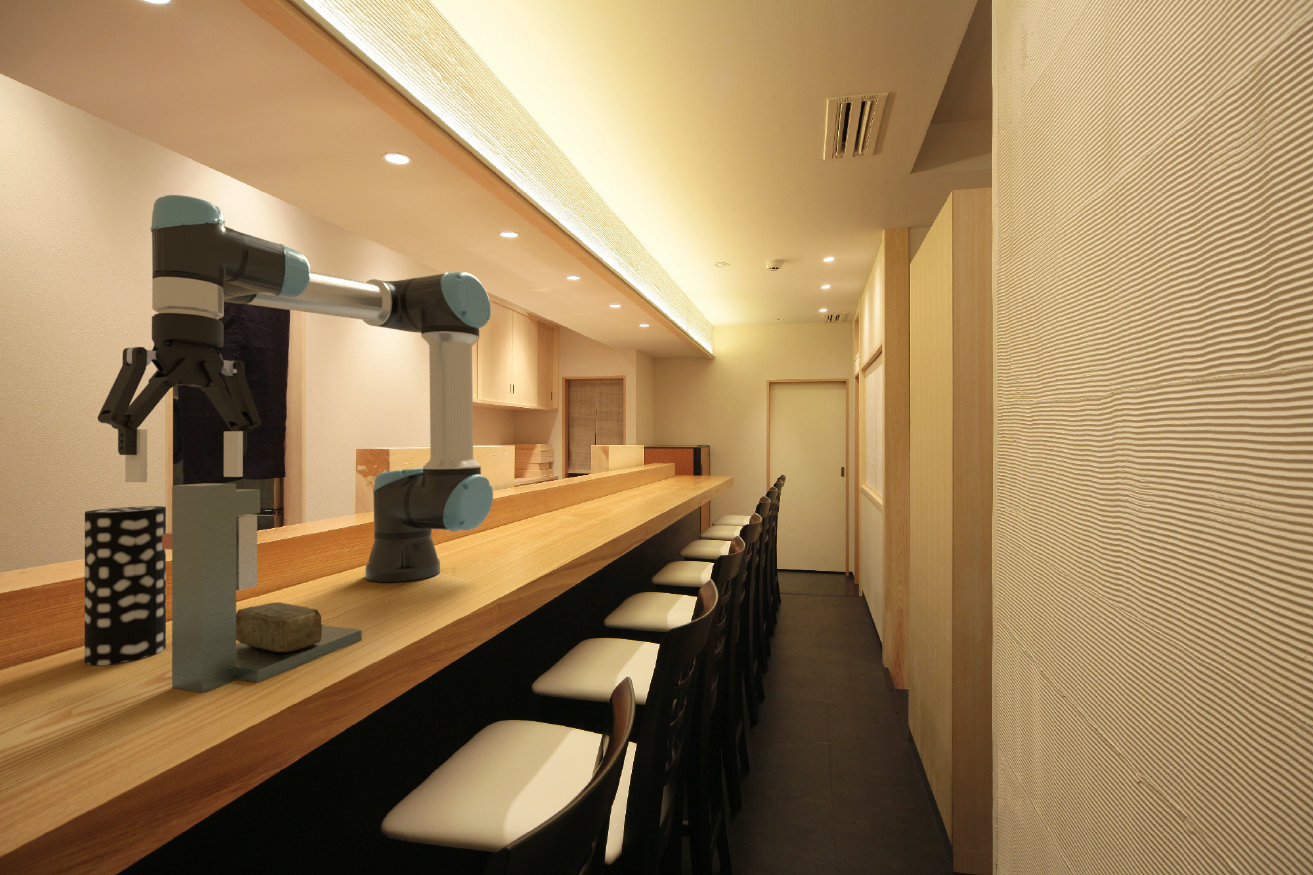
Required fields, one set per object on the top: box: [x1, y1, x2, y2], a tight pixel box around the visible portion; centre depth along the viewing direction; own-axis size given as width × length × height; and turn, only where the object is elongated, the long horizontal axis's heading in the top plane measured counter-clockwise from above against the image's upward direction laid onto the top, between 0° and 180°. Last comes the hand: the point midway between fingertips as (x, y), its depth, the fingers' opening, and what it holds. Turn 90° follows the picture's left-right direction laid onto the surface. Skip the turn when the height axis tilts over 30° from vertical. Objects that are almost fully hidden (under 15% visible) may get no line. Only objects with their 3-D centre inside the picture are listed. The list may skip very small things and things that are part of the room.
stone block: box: [236, 601, 322, 652], centre depth 80 cm, size 6×12×5 cm, turn 64°
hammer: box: [162, 514, 258, 591], centre depth 77 cm, size 4×13×9 cm, turn 72°
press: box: [171, 482, 363, 694], centre depth 78 cm, size 20×12×24 cm, turn 162°
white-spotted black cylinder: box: [84, 505, 167, 666], centre depth 81 cm, size 8×8×20 cm
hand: (188, 479), depth 78 cm, fingers open, 11 cm apart
